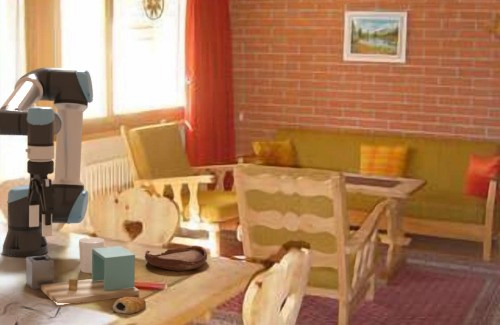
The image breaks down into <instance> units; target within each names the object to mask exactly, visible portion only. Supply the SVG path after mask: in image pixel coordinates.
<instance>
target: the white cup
mask: <svg viewBox="0 0 500 325" xmlns="http://www.w3.org/2000/svg"><path fill="white" fill-rule="evenodd" d="M104 247H105V239H104V238H103V237H102V238H101V237H97V236H95V237H91V236H90V237H84V238H80V239H79V240H78V248H79V250H78V252H79V263H80V272H82V273H83V274H92V249H94V248H104Z"/></svg>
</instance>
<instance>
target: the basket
mask: <svg viewBox="0 0 500 325" xmlns="http://www.w3.org/2000/svg"><path fill="white" fill-rule="evenodd" d="M150 252H151V251H150V250H146V251H145V254H144V259H145V261H146V262H147V263H149V264H150V265H152V266H153V267H157V268H161V269H165V270H169V271H177V272H181V271H190V270H193V269H194V270H195V269H197V268H199V267H201V266H202V265H205V263H206V261H207V259H208V253H207V250H206V248H205V247H203V246H201V245H192V246H188V247H187V246H183V247H178V248H177V247H176V248H175V247H174V248H168V249H166V250H165V251H164V252H161V253H160V254H151V253H150Z"/></svg>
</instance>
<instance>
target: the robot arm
mask: <svg viewBox="0 0 500 325" xmlns="http://www.w3.org/2000/svg"><path fill="white" fill-rule="evenodd" d="M93 91H94V90H93V82H92V77H91V74H90V71H88V70H86V69H85V68H77V67H74V68H73V67H48V66H46V67H40V68H36V69H33V70H31V71H29V72H27V73H25V74H24V75H22V76H21V77H20V78H19V79H18V80H17V81H16V83H15V84H14V90H13V91H12V92H11V94H10V95H9V97H8V98H7V99H6V101H5V102H4V103H3V104H2V105H1V107H0V136H22V137H23V136H27V137H26V138H27V141H26V143H27V148H25V152H26V153H27V159H28V160H27V161H26V168H27V169H26V172H27V173H28V174H29V184H22V185H18V186H14V187H11V188H10V189H9V190H8V192H7V202H6V204H7V232H6V236H5V238H4V241H3V244H2V254H4V255H5V256H9V257H15V258H25V257H34V256H43V255H45V254H47V253H48V252H49V245H48V244H49V243H48V240H47V238H46V237H52V236H53V224H67V225H70V224H80V223H82V222H83V221H84V219H85V217H86V213H87V209H88V204H89V191H88V190H86V189H85V185H84V184H83V182H82V181H81V162H82V146H83V145H82V142H83V141H82V140H83V138H82V137H83V120H84V119H83V118H84V112H85V111H86V110H87V109H88V108H89V104H91V103H93V100H94V98H93V97H94V92H93ZM39 101H42V102H43V101H49V102H53V107H54V108H55V109H56V110H57V112H55V110H54V108H53V107H51V106H34V104H36V103H38V102H39ZM55 136H56V140H55ZM55 143H56V144H55ZM54 158H55V161H54V160H53V159H54ZM53 173H54V179H53V180H52V179H51V178H48V175H51V174H53Z"/></svg>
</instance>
